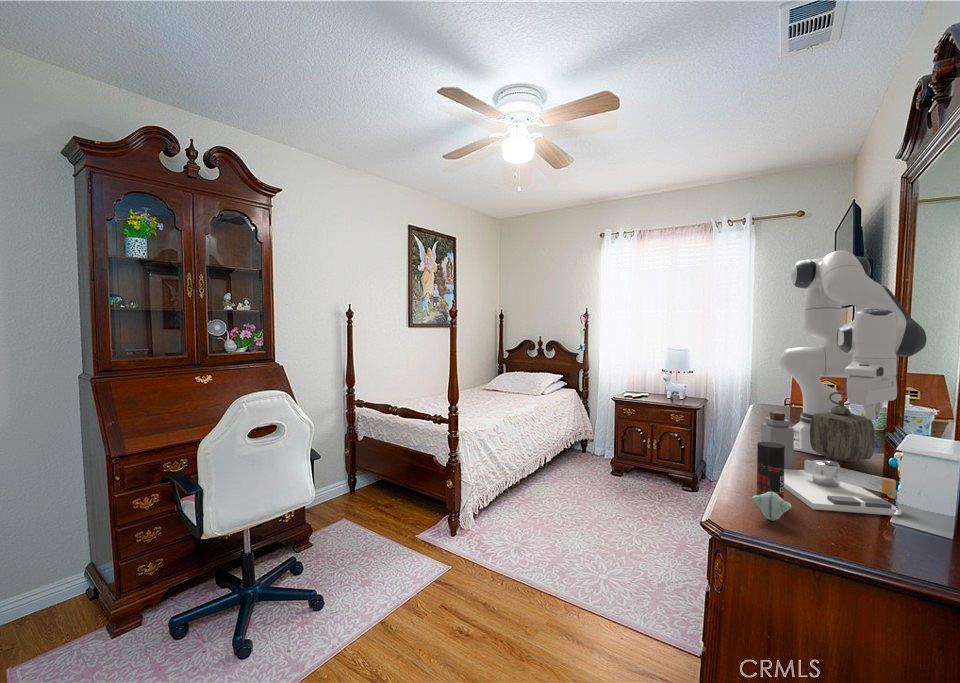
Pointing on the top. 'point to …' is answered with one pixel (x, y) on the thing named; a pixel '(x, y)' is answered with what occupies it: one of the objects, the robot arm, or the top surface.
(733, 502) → the top surface
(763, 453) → the deodorant
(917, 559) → the top surface
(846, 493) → the stand
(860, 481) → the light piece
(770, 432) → the perfume bottle
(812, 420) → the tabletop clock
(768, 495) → the mint green pointed piece
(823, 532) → the top surface
